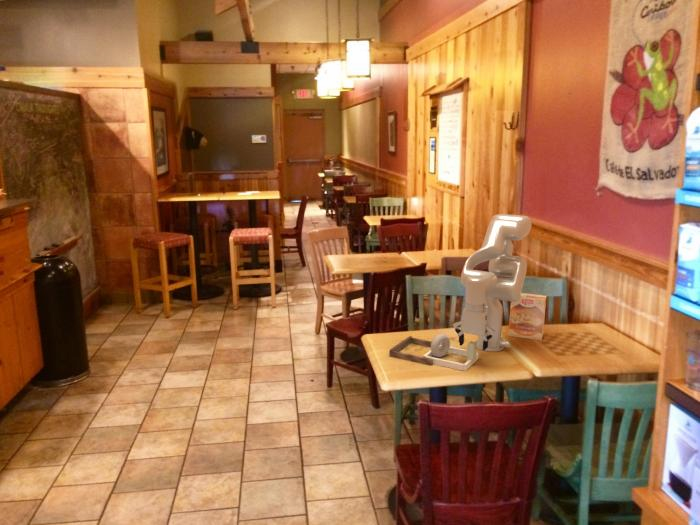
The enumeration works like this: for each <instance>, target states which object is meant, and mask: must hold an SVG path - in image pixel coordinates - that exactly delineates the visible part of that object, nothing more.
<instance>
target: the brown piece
mask: <svg viewBox="0 0 700 525" xmlns="http://www.w3.org/2000/svg"><path fill="white" fill-rule="evenodd" d="M431 343H432V340H426V339H422V338H418V337H416V338H415V337H413V336H411V335H409V336H407V337H406V338H404V339H403V340H401V341H400V342H399V343H397V344H396V345H394V346H393V347H391V348H390V349H389V353H388V354H389V355H388V356H389V357H390V358H396V359H399V360H403V361H409V362H414V363H418V364H423V365H427V366H433V365H434V364H433V359H429V358H425V357H423V356H419V355H415V354H410V353H407V352H402V350H404V349H405V348H406V347H408V346H410V345H411V344H412V345H416V346H417V345H418V346H421V347H426V348H431ZM440 345H442V342H441V343H440Z"/></svg>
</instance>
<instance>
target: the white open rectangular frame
mask: <svg viewBox="0 0 700 525" xmlns="http://www.w3.org/2000/svg"><path fill="white" fill-rule="evenodd" d="M441 346H442V345H439V349H440V348H441ZM476 347H477V342H476V341H472V340H471V341H469V342H468V343H467V349H463V348H461V347H460V348H459V347H454V346H450V347H449V350H448V352H447V353H448V354H454V355H458V356H463V357H466V362H464V363H461V362H457V361H452V360H448V359H443V358H439V357H435V356H434V355H433V354H432V352H431V349H429V351H427V352H426V353H425V354H423V355H422V357H425V358H429V359H433V365H435V366H440V367H444V366H445V368H448V367H449V369H452V370H453V369H454V370H458V371H465V372H467V371H468V370H469V369H470V368H471V366H472V365H474V364H475V363H476V362H477V361H479V360H478V359H480V353H479V352H477V348H476Z"/></svg>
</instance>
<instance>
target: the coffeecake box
mask: <svg viewBox="0 0 700 525" xmlns="http://www.w3.org/2000/svg"><path fill="white" fill-rule="evenodd" d="M546 304H547V295H542V294H533V293H524V292H521V296H520V298H519V300H517V301H515V302H512V301H510V308H509V321H508V322H509V324H508V334H507V336H508V337H515V338H521V339H528V340H529V339H530V340H537V341H542V339H543V337H544V327H545V316H546V306H547V305H546Z"/></svg>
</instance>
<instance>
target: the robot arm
mask: <svg viewBox="0 0 700 525" xmlns="http://www.w3.org/2000/svg"><path fill="white" fill-rule="evenodd" d="M532 224H533V223H532V220H531V218H530V217H529V216H527V215H519V214H505V213H501V214H499V213H498V214H494V215H493V216H492V217H491V221H490V222H489V224H488V226H487V230H486V233H485V235H484V239H483V242H482V245H481V247H480V248H478V249H477V250H475V251H474V252H473V253H472V254H471V255H470V256H469V257H468V258H467V259H466V260H465V263H464V264H463V268H462V271H461V274H460V283H461V285H462V286H463V288H465V300H464V301H465V302H464V308H463V311H462V313H461V319H460V321H457V322H454V323H453V324H452V326H453V328H454V331H455V332H456V334H457V336H458V343H459V347H461V346H463V345H464V343H465V334H469V335H474V336H478V338H477V339H478V340H476V341H475V342H477V347H476V349H477V350H480V351H485V352H490V353H491V352H500V351H502V350H504V348H511V343H510V341H508V340H504V337H503V336H502V330H503V328H502V327H503V317H504V316H503V314H504V308H503V305H502V303H501V301H507V302H511V301H512V302H515V301H517V300H519V298H520V296H521V293H523V288H524V283H525V278H526V274H527V269H528V263H527V259H525V258H524V257H523V256H518V255H513V251H514V244H513V241H522V240H523V239H524V238H526V237H527V236H528V235H529V234H530V233H531V230H532V226H533V225H532ZM488 261H489V263H488V267H487V268H488V271H484V270H478V269H477V270H476V269H474V268H475V267H476V266H477V265H479V264H482V263H485V262H488ZM459 326H460V328H459Z"/></svg>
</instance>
